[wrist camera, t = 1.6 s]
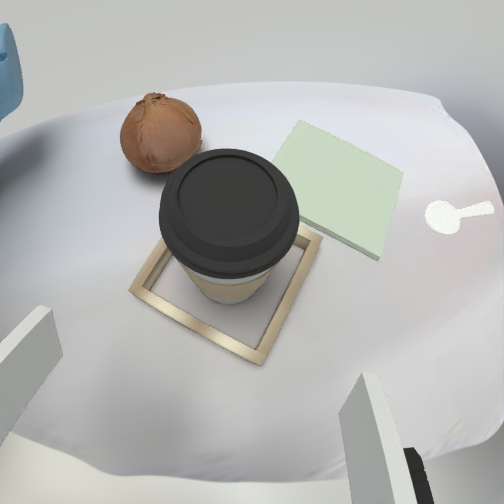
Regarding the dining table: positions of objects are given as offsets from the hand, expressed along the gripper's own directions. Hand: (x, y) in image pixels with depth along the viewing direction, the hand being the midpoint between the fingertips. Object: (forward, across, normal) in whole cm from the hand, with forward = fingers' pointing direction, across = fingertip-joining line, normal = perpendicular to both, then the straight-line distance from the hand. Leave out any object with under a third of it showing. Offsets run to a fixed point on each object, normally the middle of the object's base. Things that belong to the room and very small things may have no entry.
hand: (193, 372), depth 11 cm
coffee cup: (+19, 0, -5) cm, 20 cm away
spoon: (+30, +32, +5) cm, 44 cm away
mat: (+29, +10, +4) cm, 31 cm away
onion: (+28, -11, +4) cm, 31 cm away
